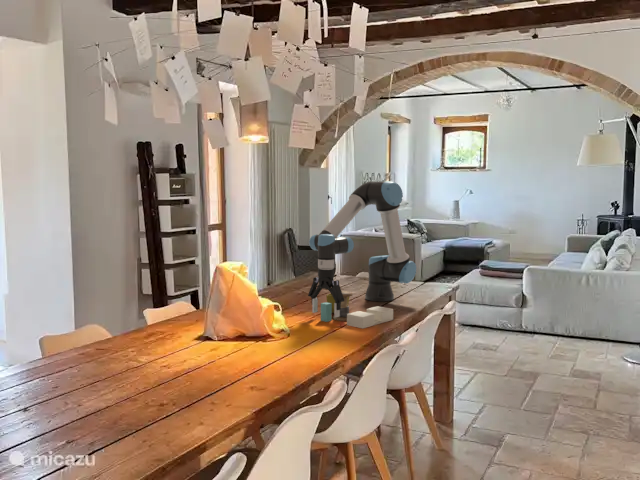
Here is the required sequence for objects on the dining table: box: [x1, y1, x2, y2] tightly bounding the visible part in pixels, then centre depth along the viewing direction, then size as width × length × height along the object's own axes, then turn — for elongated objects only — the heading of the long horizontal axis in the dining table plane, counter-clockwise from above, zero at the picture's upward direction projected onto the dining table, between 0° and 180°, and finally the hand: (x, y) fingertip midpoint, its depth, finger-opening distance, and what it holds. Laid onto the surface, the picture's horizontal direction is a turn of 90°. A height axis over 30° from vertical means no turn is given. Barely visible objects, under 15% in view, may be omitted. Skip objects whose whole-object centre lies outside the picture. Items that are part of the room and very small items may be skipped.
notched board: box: [346, 305, 394, 329], centre depth 281 cm, size 22×9×5 cm, turn 137°
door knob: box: [332, 290, 353, 322], centre depth 288 cm, size 9×9×12 cm
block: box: [320, 301, 333, 323], centre depth 285 cm, size 4×4×8 cm
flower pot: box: [326, 292, 350, 314], centre depth 301 cm, size 9×9×9 cm
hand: (325, 314), depth 285 cm, fingers open, 13 cm apart
